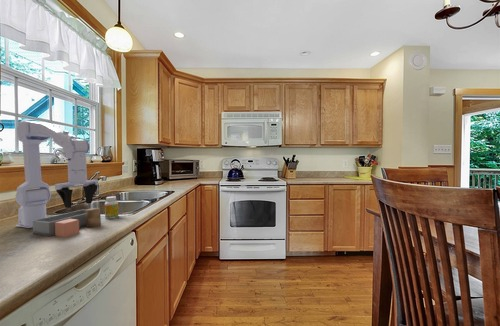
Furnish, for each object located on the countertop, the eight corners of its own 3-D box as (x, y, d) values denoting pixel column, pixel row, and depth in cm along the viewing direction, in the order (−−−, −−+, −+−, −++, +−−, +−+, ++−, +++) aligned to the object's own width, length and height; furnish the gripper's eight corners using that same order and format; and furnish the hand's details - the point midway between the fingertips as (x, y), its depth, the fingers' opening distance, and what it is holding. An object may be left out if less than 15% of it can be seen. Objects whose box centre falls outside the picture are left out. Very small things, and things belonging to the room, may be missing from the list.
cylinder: (83, 227, 91) (83, 210, 91) (95, 223, 96) (94, 207, 96) (92, 228, 90) (91, 210, 89) (103, 224, 94) (102, 208, 94)
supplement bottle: (112, 219, 102) (111, 198, 102) (102, 218, 103) (101, 198, 103) (121, 216, 108) (120, 196, 107) (111, 215, 109) (110, 195, 108)
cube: (55, 235, 82) (54, 222, 82) (70, 231, 86) (69, 218, 86) (64, 237, 80) (64, 223, 80) (79, 232, 85) (78, 219, 85)
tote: (33, 233, 84) (32, 220, 84) (83, 220, 101) (82, 209, 101) (49, 236, 81) (48, 222, 81) (97, 221, 98) (97, 210, 98)
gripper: (63, 171, 77) (65, 210, 78) (102, 169, 91) (104, 202, 91) (50, 171, 80) (51, 209, 80) (90, 169, 93) (91, 201, 94)
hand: (78, 205), depth 86 cm, fingers open, 7 cm apart
